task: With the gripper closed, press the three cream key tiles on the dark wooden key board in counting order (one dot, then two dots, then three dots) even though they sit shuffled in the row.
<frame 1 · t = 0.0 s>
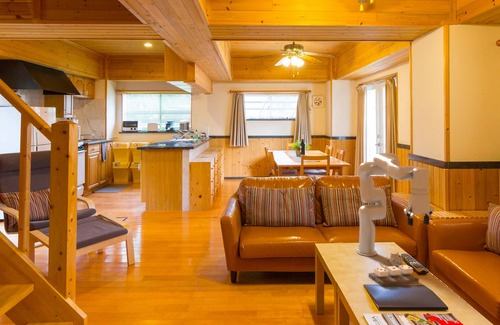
hand: (418, 224, 174), 31 cm above the table, tool pointing down, fingers open, 9 cm apart
three dot tile: (381, 271, 178), point 5 cm above the table, slide at 0.0 cm
two dot tile: (405, 269, 182), point 5 cm above the table, slide at 0.0 cm
key board: (393, 279, 180), on the table
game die: (395, 266, 198), on the table
one dot tile: (393, 270, 180), point 5 cm above the table, slide at 0.0 cm
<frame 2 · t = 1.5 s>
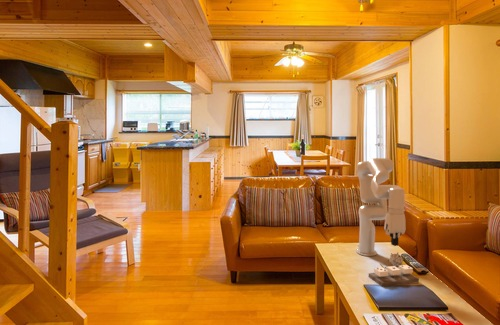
hand: (394, 244, 179), 19 cm above the table, tool pointing down, fingers closed
nothing on the table moved.
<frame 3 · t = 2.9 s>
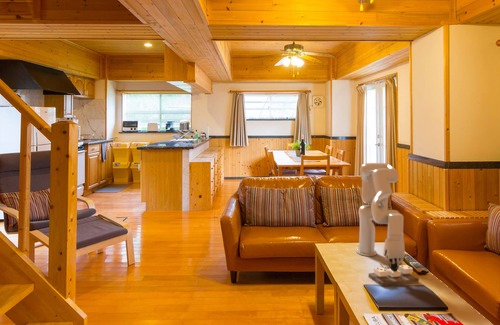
hand: (393, 270, 180), 5 cm above the table, tool pointing down, fingers closed
one dot tile: (393, 272, 180), point 4 cm above the table, slide at 1.2 cm
everything else where it was.
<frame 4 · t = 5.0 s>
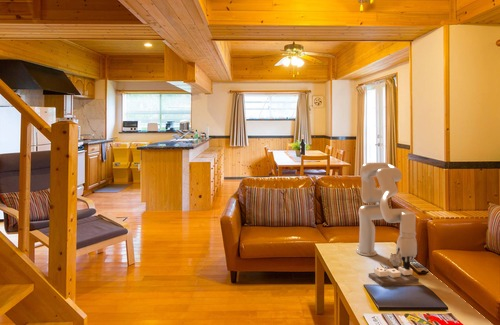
hand: (406, 268, 181), 6 cm above the table, tool pointing down, fingers closed
two dot tile: (405, 270, 182), point 4 cm above the table, slide at 0.8 cm, touching gripper
everything else where it was.
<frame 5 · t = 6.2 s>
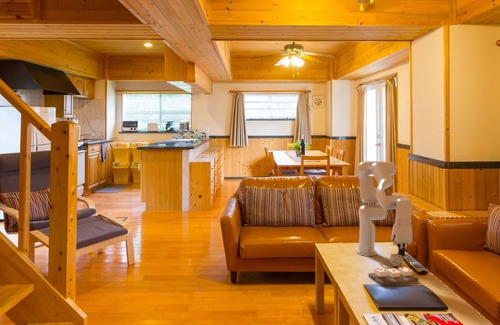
hand: (401, 255, 180), 13 cm above the table, tool pointing down, fingers closed
two dot tile: (405, 271, 182), point 4 cm above the table, slide at 1.4 cm
everything else where it was.
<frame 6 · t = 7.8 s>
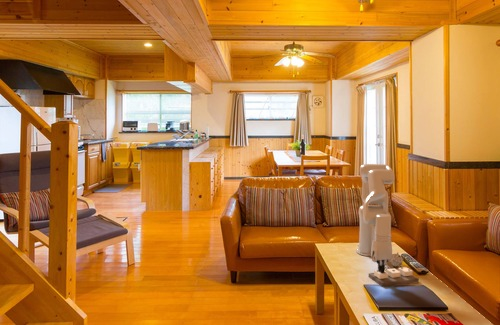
hand: (381, 271, 178), 5 cm above the table, tool pointing down, fingers closed
three dot tile: (381, 274, 178), point 4 cm above the table, slide at 1.3 cm, touching gripper
everything else where it was.
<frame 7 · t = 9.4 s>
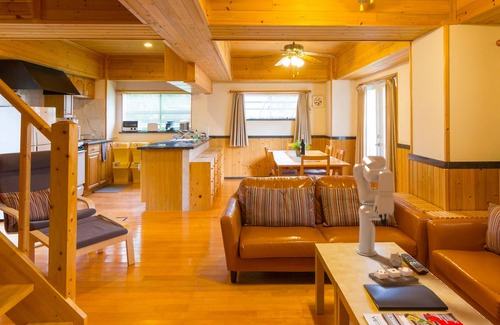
hand: (383, 225, 188), 27 cm above the table, tool pointing down, fingers closed
three dot tile: (381, 274, 178), point 4 cm above the table, slide at 1.4 cm
everything else where it was.
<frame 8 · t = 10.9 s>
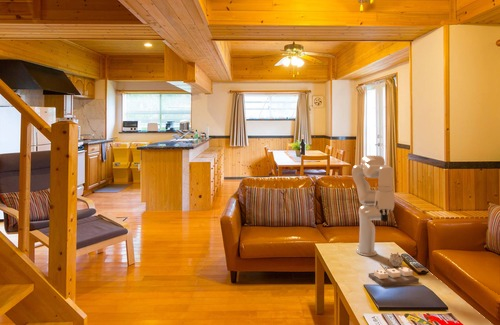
hand: (384, 221, 189), 29 cm above the table, tool pointing down, fingers closed
nothing on the table moved.
at the end: one dot tile slide at 1.4 cm; two dot tile slide at 1.4 cm; three dot tile slide at 1.4 cm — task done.
